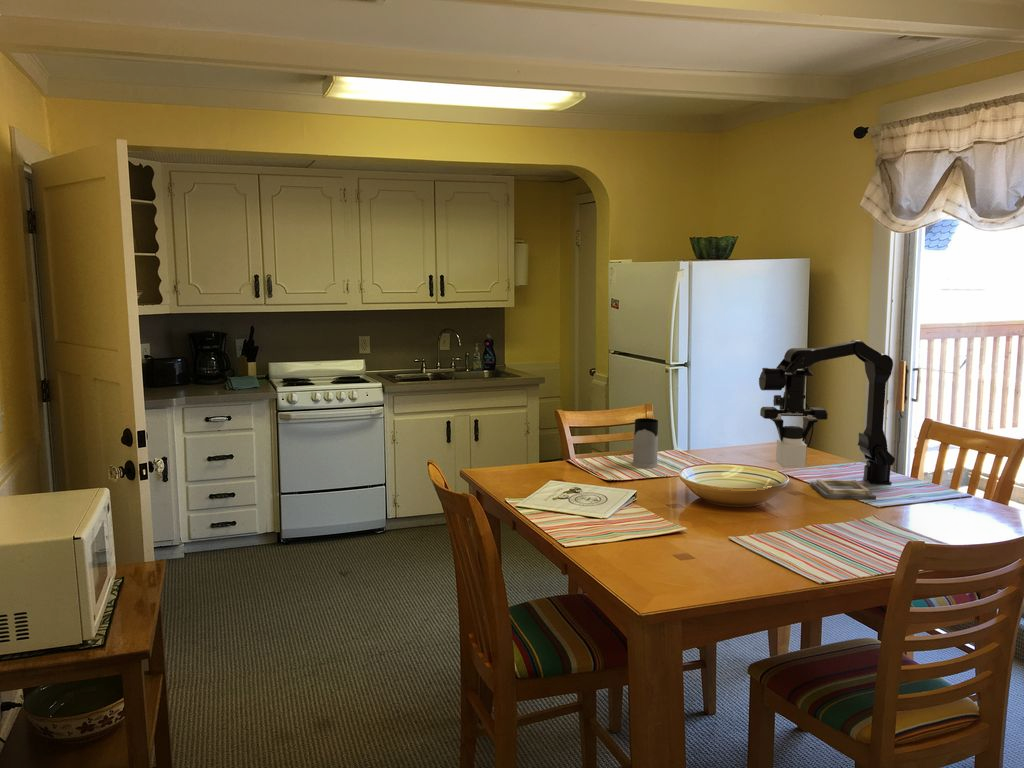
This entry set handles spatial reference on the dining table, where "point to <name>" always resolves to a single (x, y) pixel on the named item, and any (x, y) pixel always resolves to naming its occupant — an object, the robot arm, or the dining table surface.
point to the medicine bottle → (791, 448)
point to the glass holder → (645, 443)
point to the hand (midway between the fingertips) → (792, 440)
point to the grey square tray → (842, 489)
